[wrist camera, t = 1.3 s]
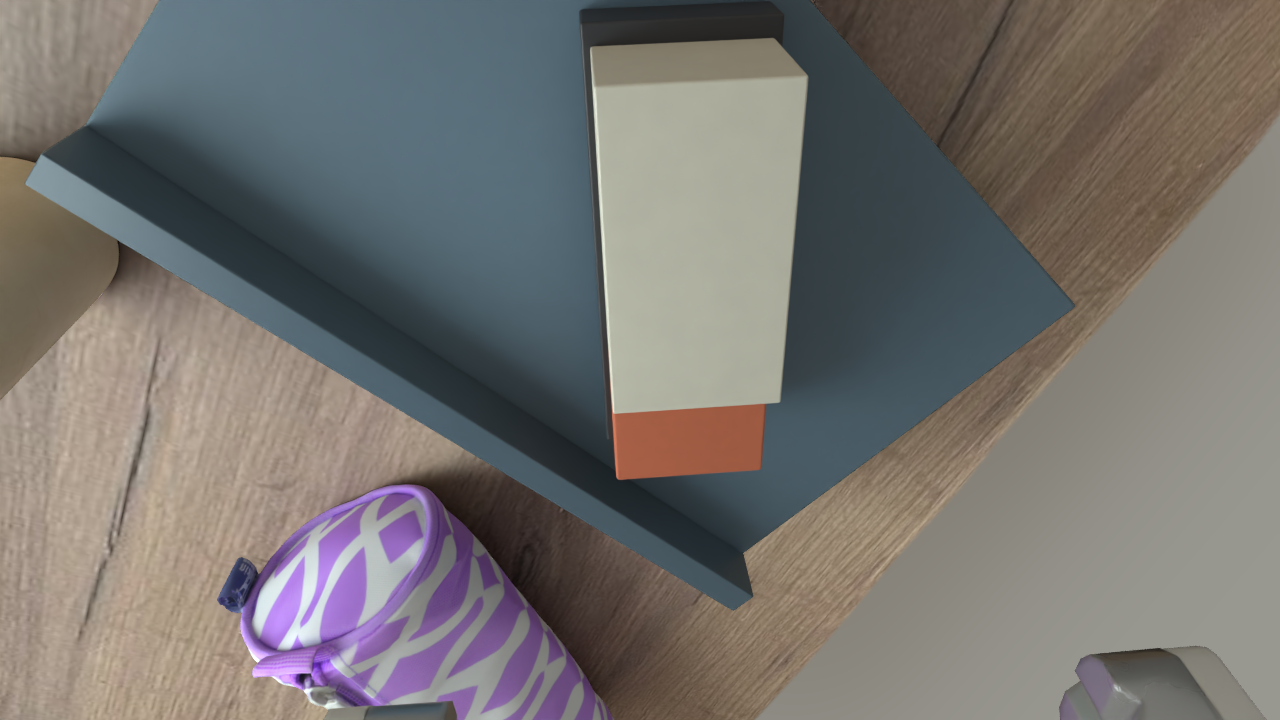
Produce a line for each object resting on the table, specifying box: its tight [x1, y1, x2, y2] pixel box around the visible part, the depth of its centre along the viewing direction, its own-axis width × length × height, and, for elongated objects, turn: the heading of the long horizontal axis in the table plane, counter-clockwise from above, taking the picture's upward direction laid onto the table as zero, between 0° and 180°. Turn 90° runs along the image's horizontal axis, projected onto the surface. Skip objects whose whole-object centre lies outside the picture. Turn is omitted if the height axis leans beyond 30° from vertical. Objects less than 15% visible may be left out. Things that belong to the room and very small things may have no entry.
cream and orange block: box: [579, 1, 809, 480], centre depth 21 cm, size 12×5×5 cm, turn 2°
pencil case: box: [217, 484, 614, 720], centre depth 36 cm, size 22×9×10 cm, turn 25°
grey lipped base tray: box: [25, 0, 1075, 611], centre depth 24 cm, size 15×24×8 cm, turn 47°
